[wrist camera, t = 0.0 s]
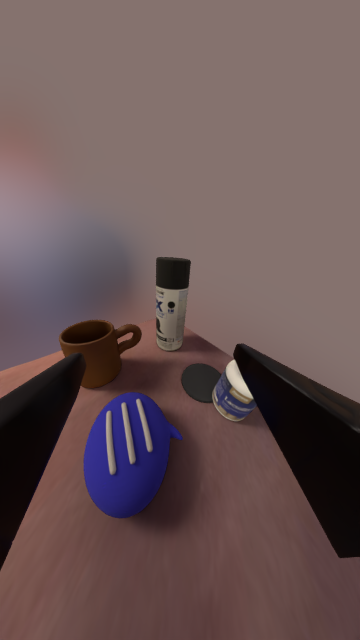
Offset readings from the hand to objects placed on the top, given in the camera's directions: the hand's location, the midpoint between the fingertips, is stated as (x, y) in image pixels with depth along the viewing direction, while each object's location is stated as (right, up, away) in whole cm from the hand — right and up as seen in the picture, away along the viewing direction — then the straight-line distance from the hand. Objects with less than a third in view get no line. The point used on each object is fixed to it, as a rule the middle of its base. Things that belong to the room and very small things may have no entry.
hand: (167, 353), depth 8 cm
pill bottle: (+9, -12, +14) cm, 20 cm away
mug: (-12, -8, +19) cm, 24 cm away
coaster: (+5, -10, +18) cm, 21 cm away
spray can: (-2, -4, +27) cm, 27 cm away
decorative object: (-4, -14, +9) cm, 17 cm away
